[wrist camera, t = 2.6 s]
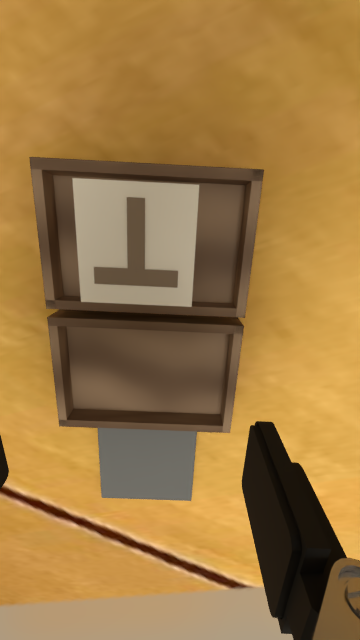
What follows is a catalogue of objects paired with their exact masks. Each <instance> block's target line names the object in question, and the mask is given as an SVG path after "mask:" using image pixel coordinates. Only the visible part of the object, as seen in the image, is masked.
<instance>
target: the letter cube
mask: <svg viewBox="0 0 360 640" xmlns="http://www.w3.org/2000/svg"><path fill="white" fill-rule="evenodd" d="M72 180H73V195H74V209H75V224H76V238H77V253H78V267H79V281H80V296H81V302H96V303H118V304H140V305H162V306H184V307H192V293H193V277H194V261H195V245H196V229H197V214H198V198H199V185H194V184H176V183H157V182H138V181H119V180H100V179H82V178H72Z"/></svg>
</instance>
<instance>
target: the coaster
mask: <svg viewBox="0 0 360 640" xmlns="http://www.w3.org/2000/svg"><path fill="white" fill-rule="evenodd" d="M196 435H197V432H195V431H169V430H143V429H117V428H98V441H99V458H100V476H101V493H102V498H128V499H157V500H186V501H191V497H192V484H193V472H194V460H195V448H196Z"/></svg>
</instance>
